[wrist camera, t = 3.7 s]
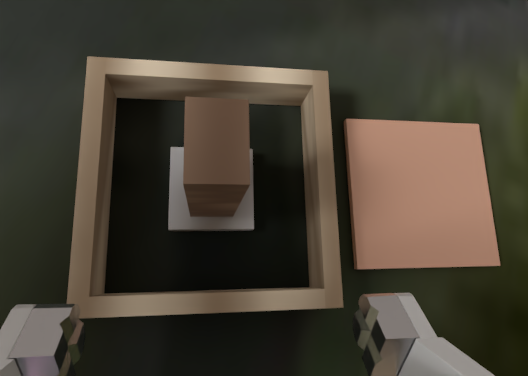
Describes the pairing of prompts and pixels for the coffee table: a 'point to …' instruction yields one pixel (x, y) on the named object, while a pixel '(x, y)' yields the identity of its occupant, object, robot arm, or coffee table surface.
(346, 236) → the coffee table surface
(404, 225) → the terracotta tile
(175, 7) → the coffee table surface
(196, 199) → the wooden post
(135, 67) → the frame
